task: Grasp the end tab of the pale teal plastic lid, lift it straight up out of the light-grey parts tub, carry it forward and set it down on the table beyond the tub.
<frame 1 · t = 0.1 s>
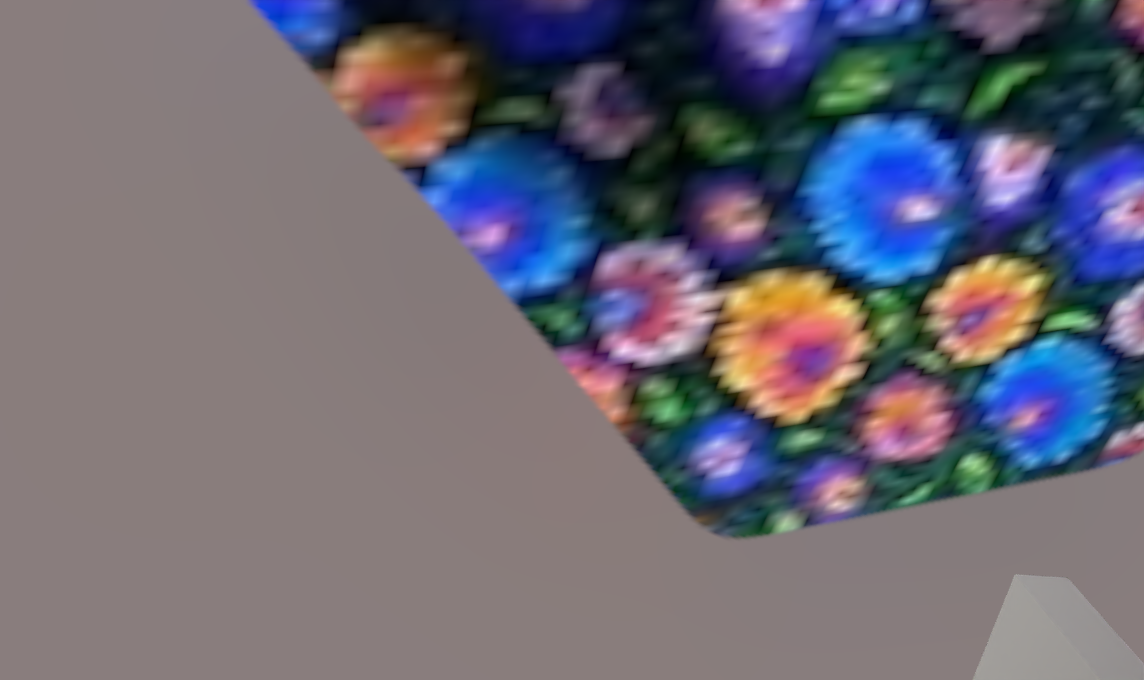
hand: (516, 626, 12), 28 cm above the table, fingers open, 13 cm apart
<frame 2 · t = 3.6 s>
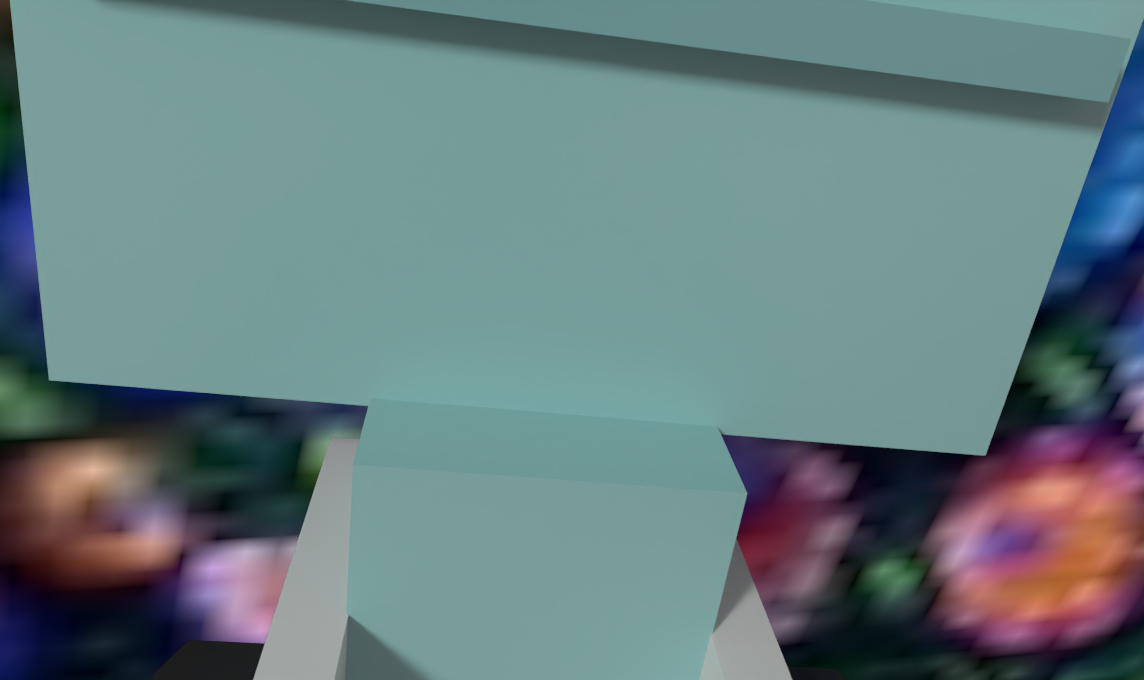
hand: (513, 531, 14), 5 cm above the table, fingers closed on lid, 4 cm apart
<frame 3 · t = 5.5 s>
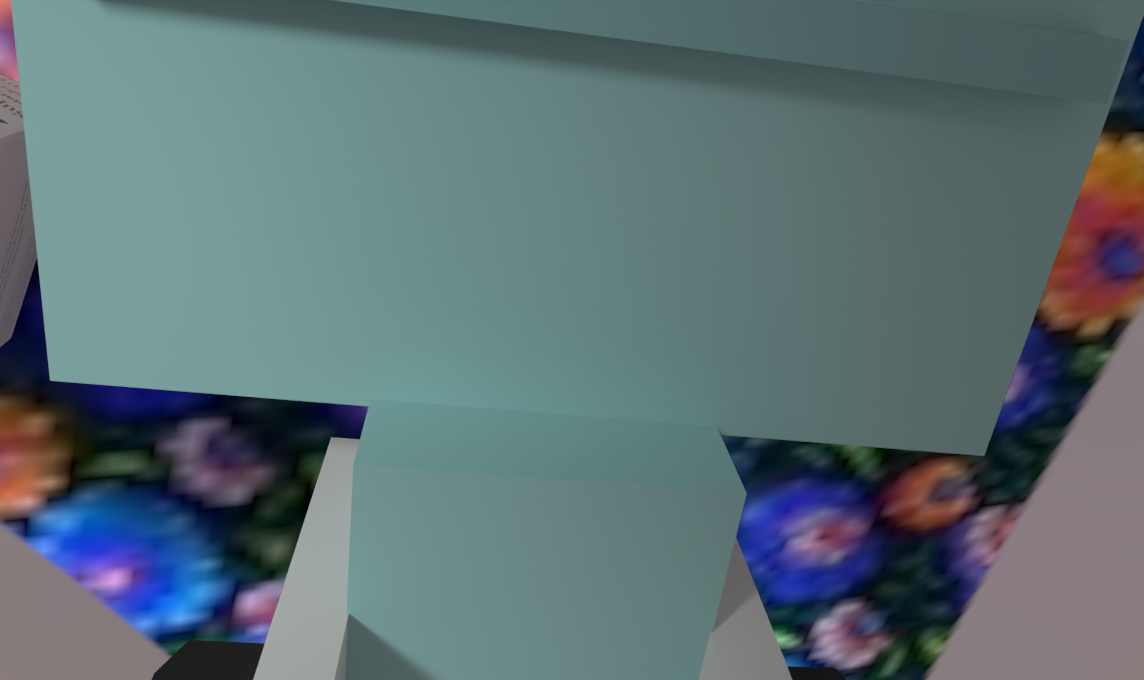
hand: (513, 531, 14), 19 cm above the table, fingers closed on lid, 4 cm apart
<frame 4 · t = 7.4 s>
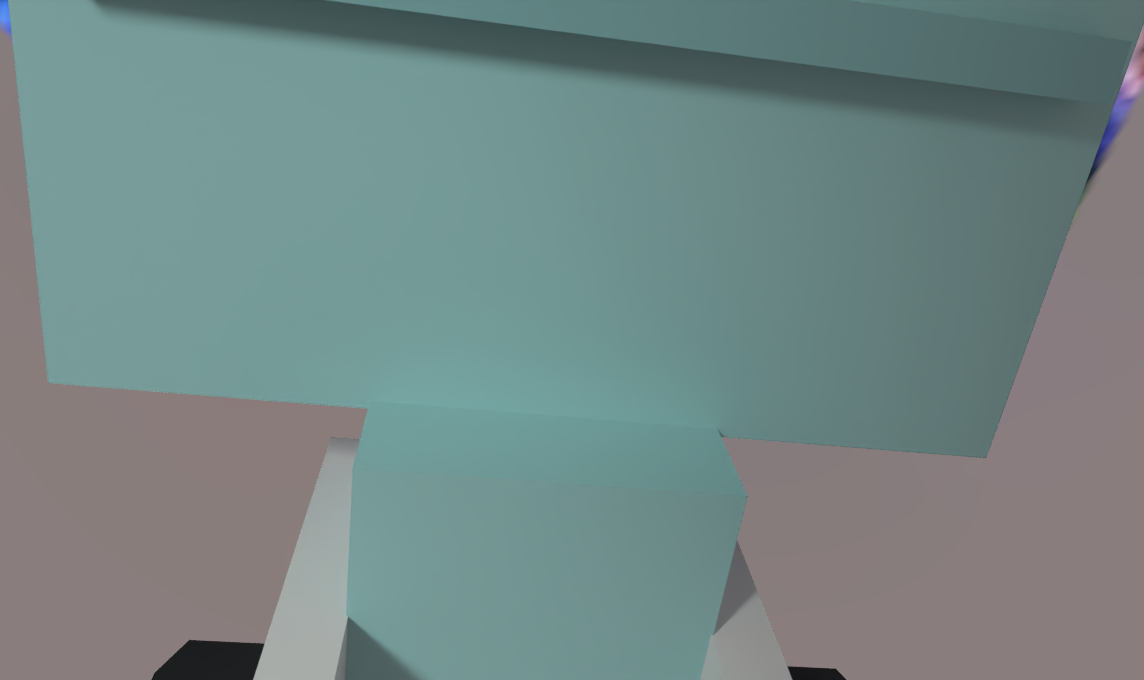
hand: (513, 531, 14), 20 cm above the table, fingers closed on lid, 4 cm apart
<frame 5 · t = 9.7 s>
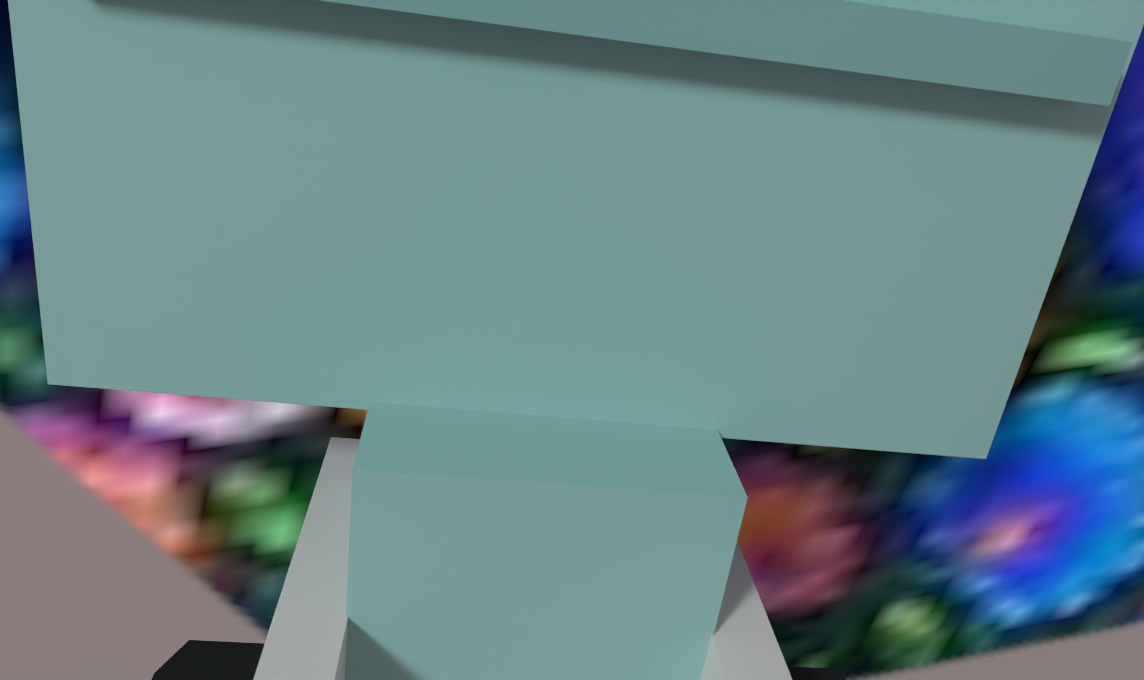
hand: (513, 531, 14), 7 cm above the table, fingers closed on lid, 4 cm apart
when the fingers open (2 cm above the table, at t = 11.4 s): lid drops 2 cm, on the table.
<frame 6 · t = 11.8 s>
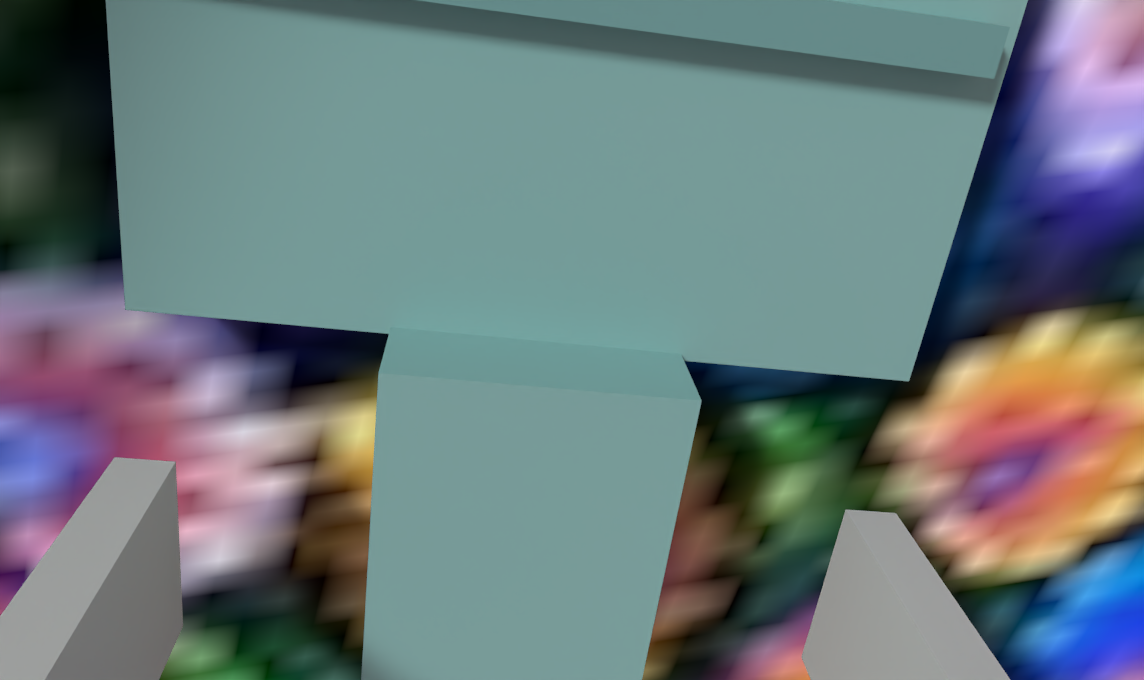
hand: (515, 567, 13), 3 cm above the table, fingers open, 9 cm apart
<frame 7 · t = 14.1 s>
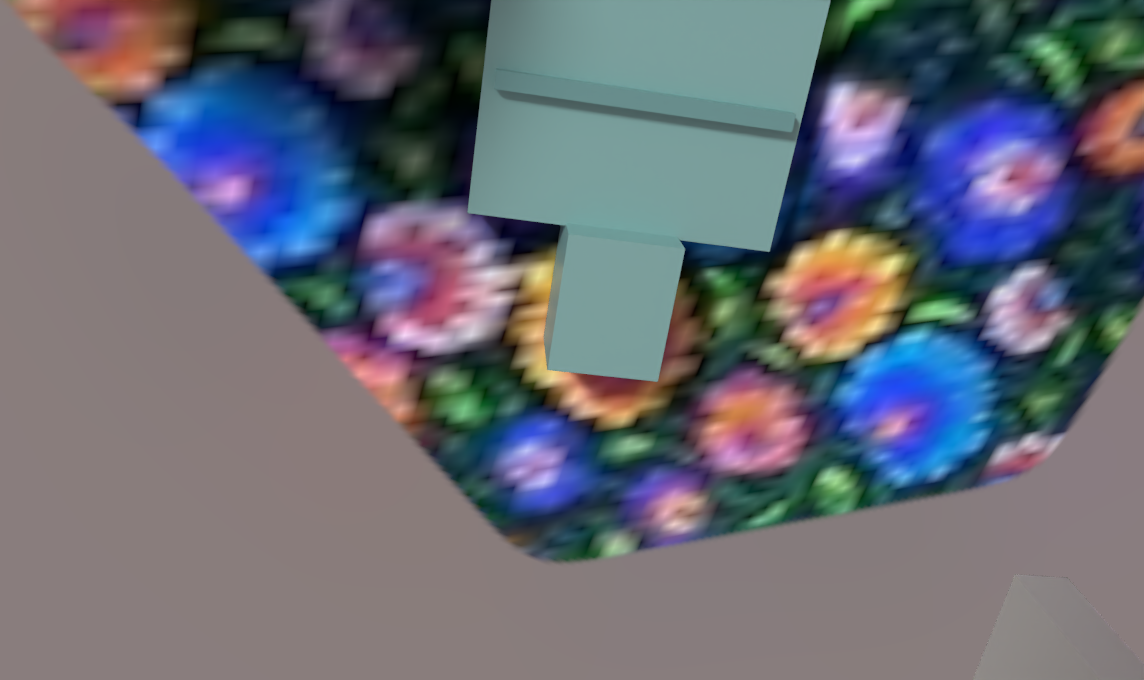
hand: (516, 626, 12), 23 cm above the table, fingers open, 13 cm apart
lid: (649, 23, 31), on the table
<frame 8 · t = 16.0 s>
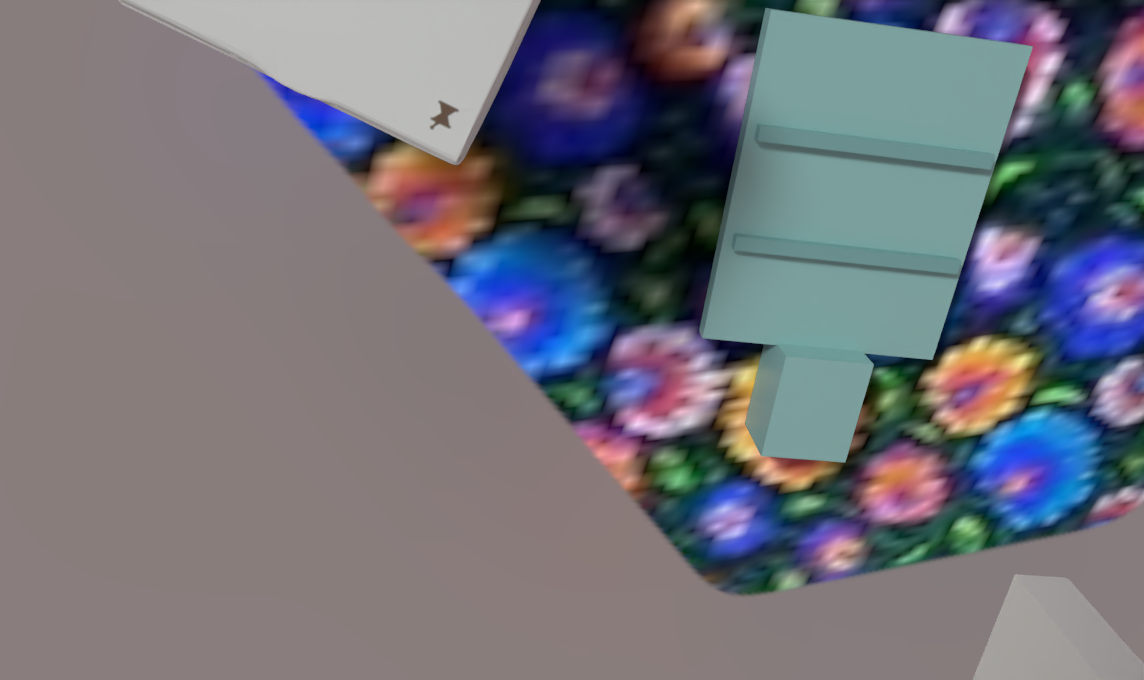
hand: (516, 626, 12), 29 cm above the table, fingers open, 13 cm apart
lid: (844, 189, 40), on the table
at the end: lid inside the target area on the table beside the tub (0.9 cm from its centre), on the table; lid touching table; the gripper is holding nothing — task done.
